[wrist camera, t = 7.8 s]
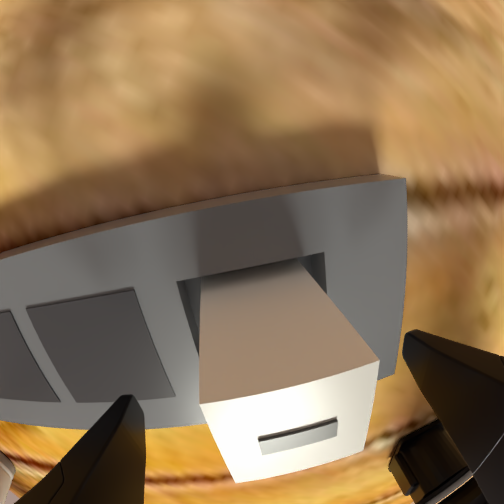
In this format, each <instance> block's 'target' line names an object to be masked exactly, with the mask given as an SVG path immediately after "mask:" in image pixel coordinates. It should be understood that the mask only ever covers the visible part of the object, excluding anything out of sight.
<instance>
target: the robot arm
mask: <svg viewBox="0 0 504 504" xmlns="http://www.w3.org/2000/svg"><path fill="white" fill-rule="evenodd" d="M402 355H403V358H404V360H405V362H406V364H407V366H408V368H409V369H410V371H411V373H412V375H413V377H414V379H415V381H416V383H417V385H418V387H419V388H420V390H421V392H422V393H423V395H424V397H425V398H426V400H427V401H428V403H429V404H430V406H431V407H432V409H433V410H434V412H435V413H436V415H437V416H438V418H439V420H437V421H435V422H433V423H432V424H430V425H428V426H426V427H424V428H422V429H420V430H418V431H416V432H414V433H412V434H410V435H408V436H406V437H404V438H402V439H401V440H400V441H399V443H398V446H397V449H396V451H395V454H394V456H393V459H392V461H391V463H390V466H389V468H388V469H389V471H390V472H392V474H393V476H394V477H395V479H396V481H397V483H398V485H399V487H400V488H401V490H402V492H403V494H404V495H405V496H408V495H410V496H411V497H412V499H413V501H414V503H415V504H436V503H437V502H439V501H440V500H441V499H442V498H444V497H445V496H447V495H448V494H450V493H451V492H452V491H454V490H455V489H456V488H458V487H459V486H460V485H462V484H463V483H464V482H465V481H466V480H468V479H469V478H470V477H471V476H473V477H472V478H471V479H470V480H469V481H467V482H466V483H465V484H464V485H462V486H461V487H460V488H458V489H457V490H456V491H454V492H453V493H452V494H450V495H449V496H448V497H446V498H445V499H444V500H442V501H441V502H439V503H438V504H504V357H503V356H499V355H497V354H493V353H490V352H487V351H484V350H480V349H477V348H474V347H471V346H467V345H464V344H461V343H458V342H455V341H451V340H448V339H445V338H442V337H439V336H436V335H432V334H429V333H426V332H423V331H420V330H417V329H415V330H412V331H410V332H407V333H406V334H405V337H404V343H403V350H402ZM145 466H146V443H145V416H144V412H143V410H142V408H141V406H140V404H139V403H138V401H137V399H136V397H135V396H134V395H132V394H126V395H121V396H120V397H119V398H118V399H117V400H116V401H115V402H114V403H113V404H112V405H111V406H110V407H109V409H108V410H107V411H106V412H105V413H104V414H103V415H102V416H101V417H100V418H99V419H98V420H97V422H96V423H95V424H94V425H93V426H92V427H91V428H90V429H89V430H88V431H87V432H86V433H85V434H84V436H83V437H82V438H81V439H80V440H79V441H78V442H77V443H76V444H75V445H74V446H73V447H72V449H71V450H70V451H69V452H68V453H67V454H66V455H65V456H64V457H63V458H62V459H61V461H60V462H58V464H57V465H56V466H55V467H54V468H53V469H52V470H51V471H50V472H49V473H48V474H47V475H46V476H45V477H44V478H43V479H42V480H41V481H40V482H39V483H37V484H36V485H35V486H34V487H33V488H32V489H31V490H30V491H28V492H27V493H26V494H25V495H24V496H22V497H21V498H20V499H19V500H18V501H17V502H16V503H14V504H144V484H145Z"/></svg>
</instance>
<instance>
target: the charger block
mask: <svg viewBox="0 0 504 504" xmlns="http://www.w3.org/2000/svg"><path fill="white" fill-rule="evenodd" d="M379 362H380V360H379V359H378V357H377V356H376V355H375V354H374V352H373V351H372V350H371V349H370V347H369V346H368V345H367V344H366V342H365V341H364V340H363V339H362V337H361V336H360V335H359V334H358V332H357V331H356V330H355V329H354V327H353V326H352V325H351V324H350V322H349V321H348V320H347V319H346V318H345V316H344V315H343V314H342V313H341V311H340V310H339V309H338V308H337V307H336V305H335V304H334V303H333V302H332V300H331V299H330V298H329V297H328V296H327V294H326V293H325V292H324V291H323V290H322V288H321V287H320V286H319V285H318V284H317V282H316V281H315V280H314V279H313V278H312V276H311V275H310V274H309V273H308V272H307V270H306V269H305V268H304V267H303V266H302V264H301V263H300V262H299V261H298V260H297V259H296V258H295V259H290V260H285V261H280V262H275V263H270V264H265V265H259V266H254V267H249V268H244V269H239V270H234V271H229V272H223V273H218V274H213V275H208V276H202V277H201V299H200V338H199V405H200V407H201V410H202V412H203V414H204V417H205V419H206V421H207V424H208V426H209V428H210V431H211V433H212V435H213V437H214V439H215V442H216V444H217V446H218V448H219V450H220V452H221V455H222V457H223V459H224V461H225V463H226V465H227V467H228V469H229V471H230V473H231V475H232V477H233V479H234V481H235V483H240V482H247V481H253V480H258V479H264V478H269V477H274V476H279V475H283V474H288V473H292V472H296V471H300V470H304V469H307V468H311V467H315V466H318V465H322V464H325V463H328V462H331V461H335V460H338V459H341V458H344V457H347V456H350V455H352V454H355V453H358V452H361V451H363V449H364V445H365V440H366V436H367V431H368V427H369V422H370V417H371V412H372V407H373V401H374V395H375V389H376V383H377V376H378V369H379Z"/></svg>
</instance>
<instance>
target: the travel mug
mask: <svg viewBox="0 0 504 504" xmlns="http://www.w3.org/2000/svg"><path fill="white" fill-rule="evenodd" d="M15 471H16V470H15V467H14V465H13V464H12V463H11V461H10V460H9V459H8V458H7V457H6V456H5V455H4V454H3V453H2V452H0V504H4V503H5V500H6V497H7V494H8V491H9V488H10V485H11V482H12V481H11V480H12V479H13V477H14V474H15Z"/></svg>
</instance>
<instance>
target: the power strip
mask: <svg viewBox="0 0 504 504" xmlns="http://www.w3.org/2000/svg"><path fill="white" fill-rule="evenodd" d="M295 258H296V259H297V260H298V261H299V262H300V263H301V264H302V266H303V267H304V268H305V269H306V270H307V272H308V273H309V274H310V275H311V276H312V278H313V279H314V280H315V281H316V282H317V284H318V285H319V286H320V287H321V288H322V290H323V291H324V292H325V293H326V294H327V296H328V297H329V298H330V299H331V300H332V302H333V303H334V304H335V305H336V307H337V308H338V309H339V310H340V311H341V313H342V314H343V315H344V316H345V318H346V319H347V320H348V321H349V322H350V324H351V325H352V326H353V327H354V329H355V330H356V331H357V332H358V334H359V335H360V336H361V337H362V339H363V340H364V341H365V342H366V344H367V345H368V346H369V347H370V349H371V350H372V351H373V352H374V354H375V355H376V356H377V357H378V359H379V360H380V362H379V369H378V376H377V380H380V379H383V378H385V377H388V376H390V375H393V374H394V373H395V367H396V361H397V355H398V348H399V342H400V334H401V326H402V318H403V308H404V297H405V284H406V266H407V192H406V178H402V177H396V176H390V175H384V174H374V175H365V176H356V177H348V178H340V179H332V180H325V181H317V182H310V183H303V184H297V185H290V186H284V187H277V188H271V189H265V190H259V191H253V192H247V193H242V194H236V195H231V196H225V197H220V198H215V199H210V200H204V201H199V202H194V203H189V204H185V205H180V206H175V207H170V208H166V209H161V210H157V211H152V212H148V213H144V214H139V215H135V216H131V217H127V218H122V219H118V220H114V221H110V222H106V223H102V224H98V225H94V226H91V227H87V228H83V229H79V230H76V231H72V232H68V233H65V234H61V235H58V236H54V237H51V238H47V239H44V240H40V241H37V242H34V243H30V244H27V245H24V246H21V247H18V248H14V249H11V250H8V251H5V252H2V253H0V420H2V421H8V422H14V423H20V424H27V425H35V426H44V427H54V428H66V429H85V430H89V429H90V428H91V427H92V426H93V425H94V424H95V423H96V422H97V420H98V419H99V418H100V417H101V416H102V415H103V414H104V413H105V412H106V411H107V410H108V409H109V407H110V406H111V405H112V404H113V403H114V402H115V401H116V400H117V399H118V398H119V397H120V396H121V395H126V394H132V395H134V396H135V397H136V399H137V401H138V403H139V404H140V406H141V408H142V410H143V412H144V416H145V429H156V428H169V427H180V426H190V425H198V424H206V423H207V421H206V419H205V417H204V414H203V412H202V410H201V407H200V405H199V338H200V299H201V277H202V276H208V275H213V274H218V273H223V272H229V271H234V270H239V269H244V268H249V267H254V266H259V265H265V264H270V263H275V262H280V261H285V260H290V259H295Z"/></svg>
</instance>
